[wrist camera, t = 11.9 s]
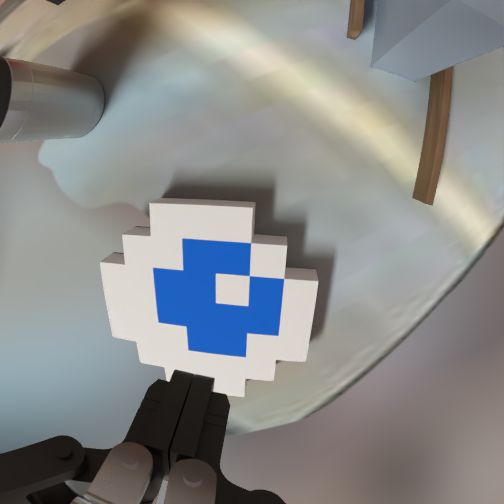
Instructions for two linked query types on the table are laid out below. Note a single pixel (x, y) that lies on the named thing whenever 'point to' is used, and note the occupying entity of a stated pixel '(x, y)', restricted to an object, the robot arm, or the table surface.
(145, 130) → the table surface
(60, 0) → the cleaning product box
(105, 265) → the stepped white slab
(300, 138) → the table surface
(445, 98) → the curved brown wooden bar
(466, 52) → the book
